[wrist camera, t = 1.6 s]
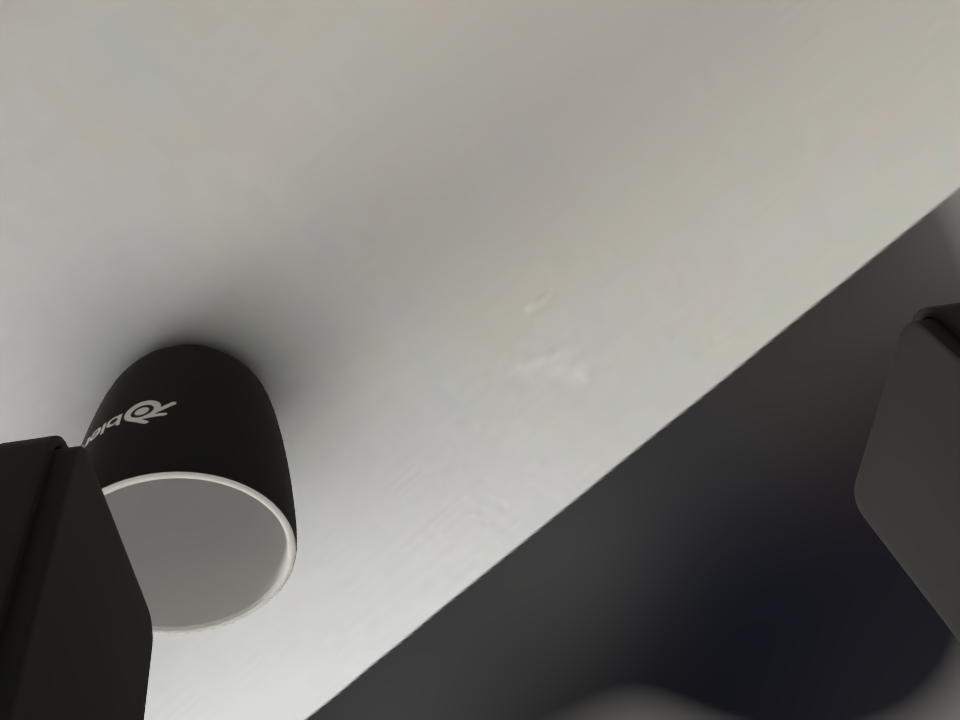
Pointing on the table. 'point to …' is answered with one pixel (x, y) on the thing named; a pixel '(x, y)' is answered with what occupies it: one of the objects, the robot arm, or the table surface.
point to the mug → (196, 486)
